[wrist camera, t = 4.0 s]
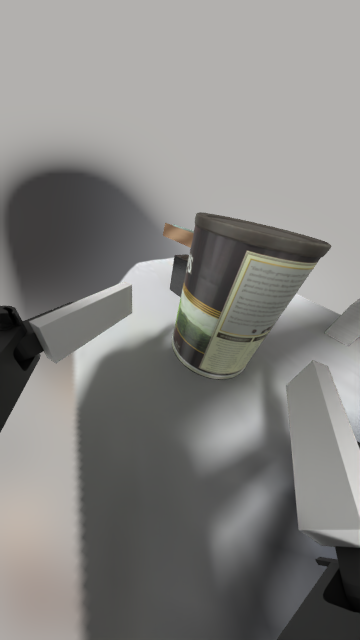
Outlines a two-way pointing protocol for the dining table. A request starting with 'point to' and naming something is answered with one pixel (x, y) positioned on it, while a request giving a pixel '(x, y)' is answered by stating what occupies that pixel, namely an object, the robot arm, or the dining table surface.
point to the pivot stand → (178, 273)
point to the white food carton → (346, 325)
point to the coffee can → (237, 290)
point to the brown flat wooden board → (178, 234)
